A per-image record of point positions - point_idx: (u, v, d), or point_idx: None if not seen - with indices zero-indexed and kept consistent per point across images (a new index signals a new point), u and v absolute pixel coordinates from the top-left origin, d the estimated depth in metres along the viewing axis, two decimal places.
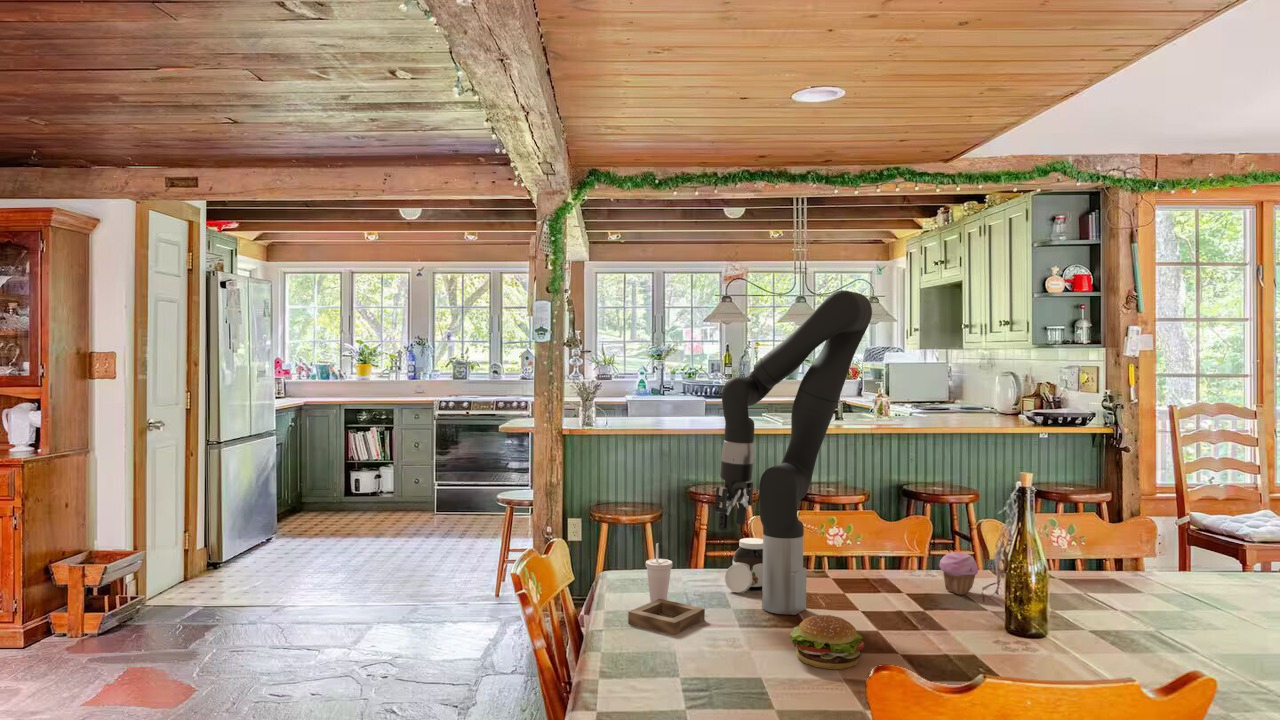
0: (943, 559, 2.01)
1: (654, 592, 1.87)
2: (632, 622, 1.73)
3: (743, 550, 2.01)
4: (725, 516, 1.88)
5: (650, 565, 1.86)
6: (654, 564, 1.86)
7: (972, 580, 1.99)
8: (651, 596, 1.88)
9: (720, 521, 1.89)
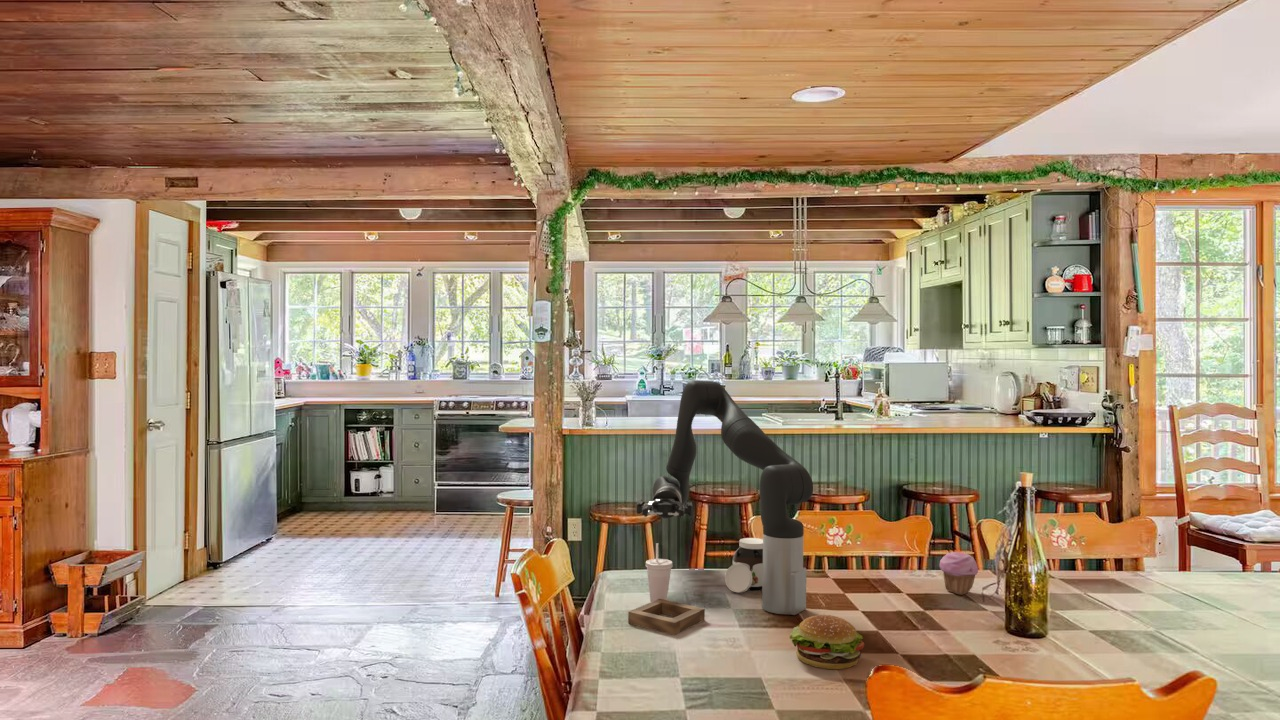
0: (943, 559, 2.01)
1: (654, 592, 1.87)
2: (632, 622, 1.73)
3: (743, 550, 2.01)
4: (644, 507, 2.04)
5: (650, 565, 1.86)
6: (654, 564, 1.86)
7: (972, 580, 1.99)
8: (651, 596, 1.88)
9: None
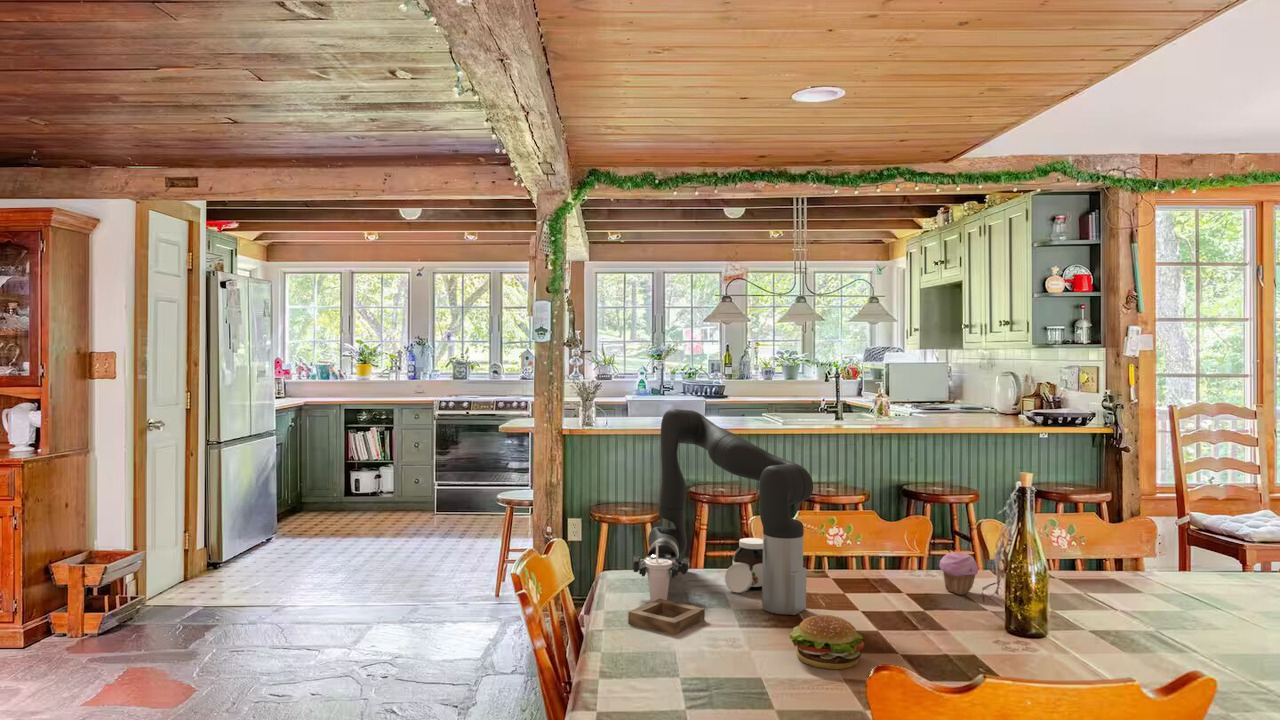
0: (943, 559, 2.01)
1: (654, 592, 1.87)
2: (632, 622, 1.73)
3: (742, 550, 2.01)
4: (641, 565, 1.90)
5: (650, 565, 1.86)
6: (654, 564, 1.86)
7: (972, 580, 1.99)
8: (651, 596, 1.88)
9: None
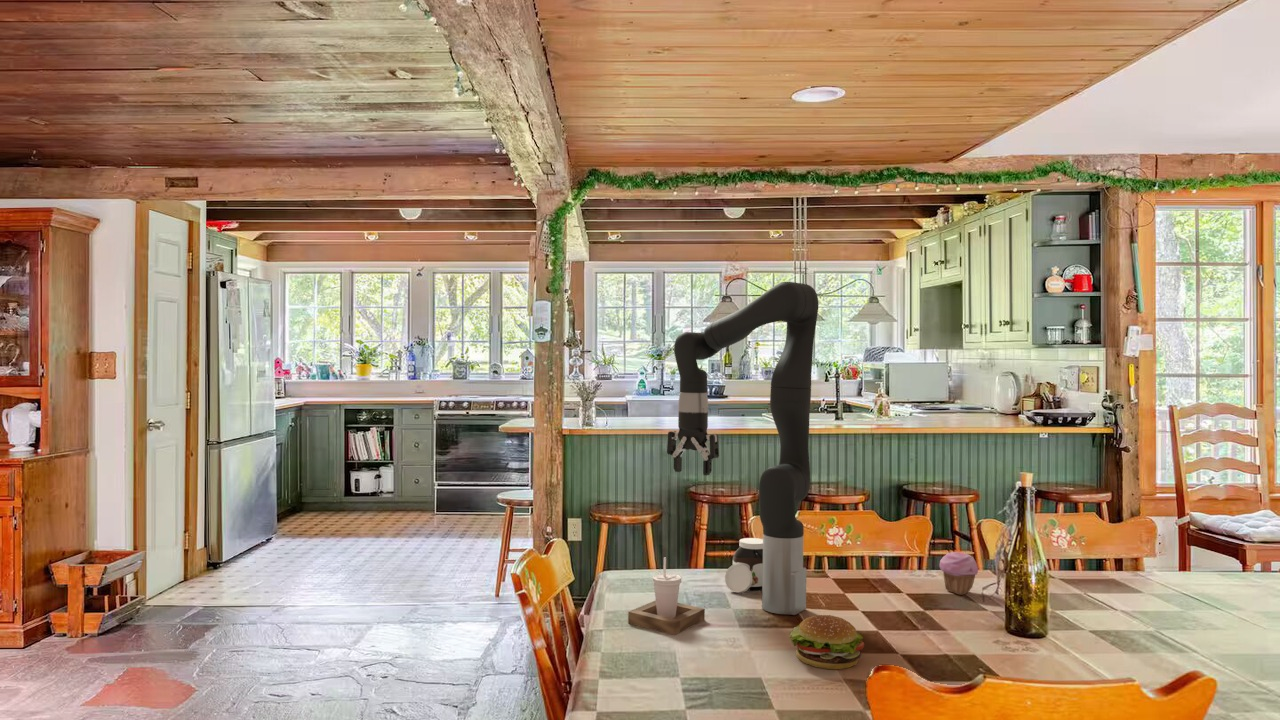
0: (943, 559, 2.01)
1: (662, 610, 1.73)
2: (632, 622, 1.73)
3: (743, 550, 2.01)
4: (674, 458, 2.08)
5: (657, 581, 1.73)
6: (662, 580, 1.73)
7: (972, 580, 1.99)
8: (658, 614, 1.74)
9: None
